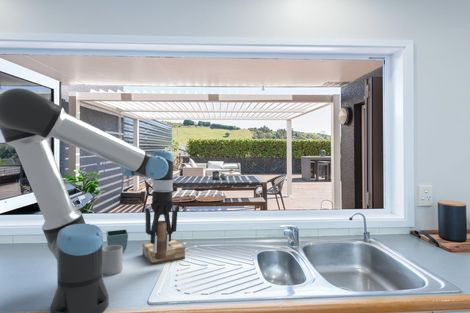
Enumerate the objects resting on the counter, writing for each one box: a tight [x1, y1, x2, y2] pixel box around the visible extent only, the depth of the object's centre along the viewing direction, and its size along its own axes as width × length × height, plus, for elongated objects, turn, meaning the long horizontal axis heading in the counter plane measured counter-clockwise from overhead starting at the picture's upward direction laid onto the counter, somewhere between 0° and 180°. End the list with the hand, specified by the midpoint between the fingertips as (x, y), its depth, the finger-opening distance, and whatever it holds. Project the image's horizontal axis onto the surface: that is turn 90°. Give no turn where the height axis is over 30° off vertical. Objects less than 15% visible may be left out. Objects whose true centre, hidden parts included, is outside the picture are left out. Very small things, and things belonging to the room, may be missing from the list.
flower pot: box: [105, 229, 129, 253], centre depth 139 cm, size 9×9×9 cm
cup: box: [102, 245, 124, 276], centre depth 118 cm, size 7×10×9 cm
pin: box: [155, 220, 167, 260], centre depth 119 cm, size 4×4×14 cm
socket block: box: [142, 238, 186, 266], centre depth 134 cm, size 14×14×5 cm
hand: (160, 250), depth 119 cm, fingers closed on pin, 4 cm apart
